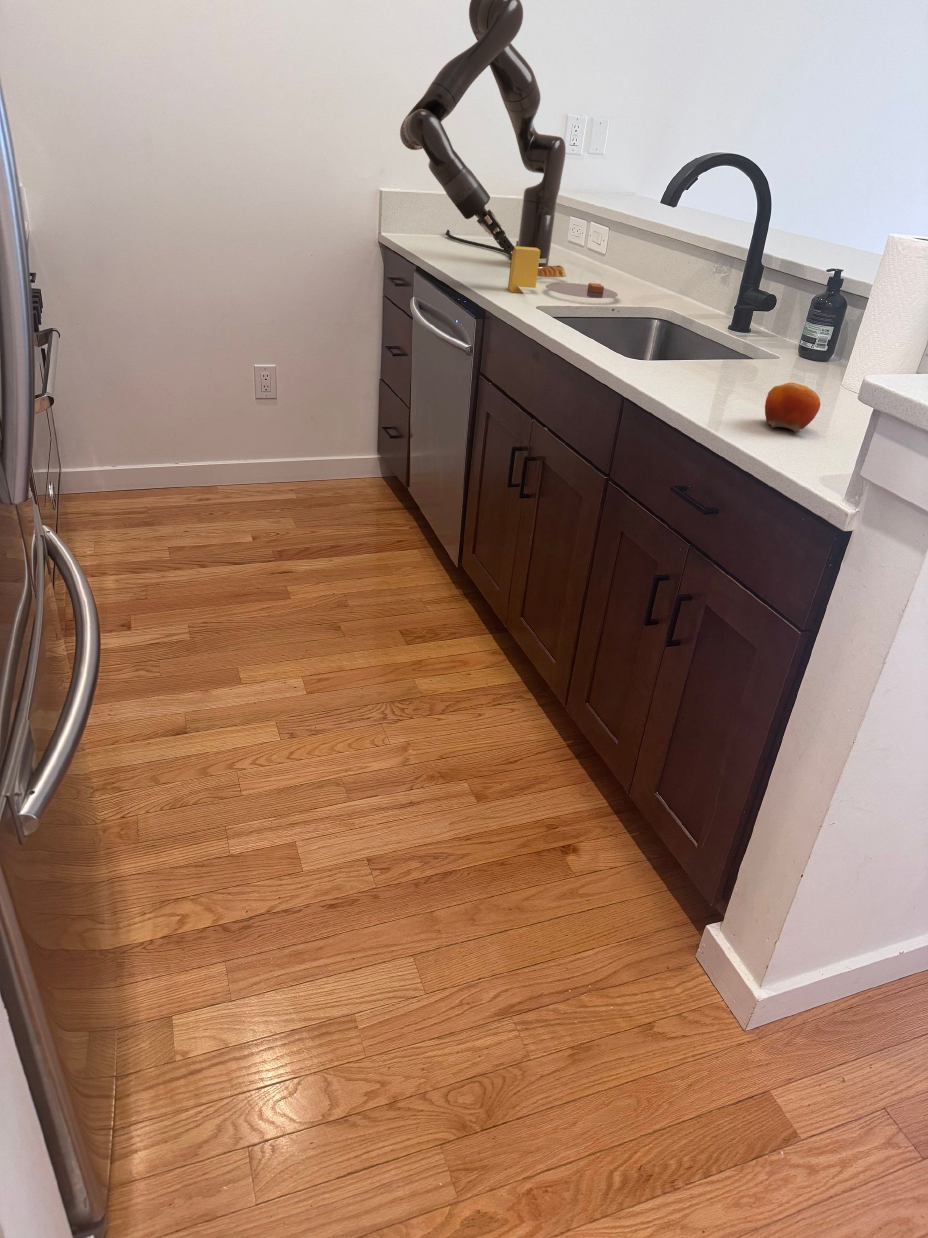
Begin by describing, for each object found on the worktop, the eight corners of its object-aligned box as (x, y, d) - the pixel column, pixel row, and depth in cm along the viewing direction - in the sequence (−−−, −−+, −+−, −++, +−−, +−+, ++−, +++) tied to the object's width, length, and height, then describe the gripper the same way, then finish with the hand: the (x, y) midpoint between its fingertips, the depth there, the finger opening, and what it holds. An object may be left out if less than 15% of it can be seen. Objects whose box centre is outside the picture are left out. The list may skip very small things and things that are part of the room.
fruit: (759, 423, 133) (773, 372, 133) (755, 436, 141) (769, 388, 141) (814, 433, 131) (828, 381, 131) (807, 446, 139) (821, 397, 139)
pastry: (542, 283, 229) (544, 268, 227) (525, 278, 233) (526, 263, 231) (567, 282, 234) (570, 267, 232) (550, 277, 238) (552, 262, 237)
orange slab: (587, 288, 220) (588, 282, 219) (599, 289, 220) (600, 283, 219) (591, 292, 216) (592, 285, 216) (603, 292, 217) (604, 286, 216)
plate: (538, 286, 225) (539, 280, 224) (605, 291, 227) (606, 285, 227) (553, 301, 209) (554, 294, 209) (625, 306, 212) (626, 300, 211)
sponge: (507, 288, 218) (512, 245, 213) (531, 290, 219) (536, 247, 214) (511, 292, 215) (516, 248, 209) (534, 293, 215) (540, 250, 210)
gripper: (482, 183, 197) (526, 242, 204) (474, 177, 209) (515, 233, 216) (457, 206, 199) (501, 264, 206) (450, 199, 211) (491, 254, 218)
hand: (508, 248), depth 211 cm, fingers open, 8 cm apart
